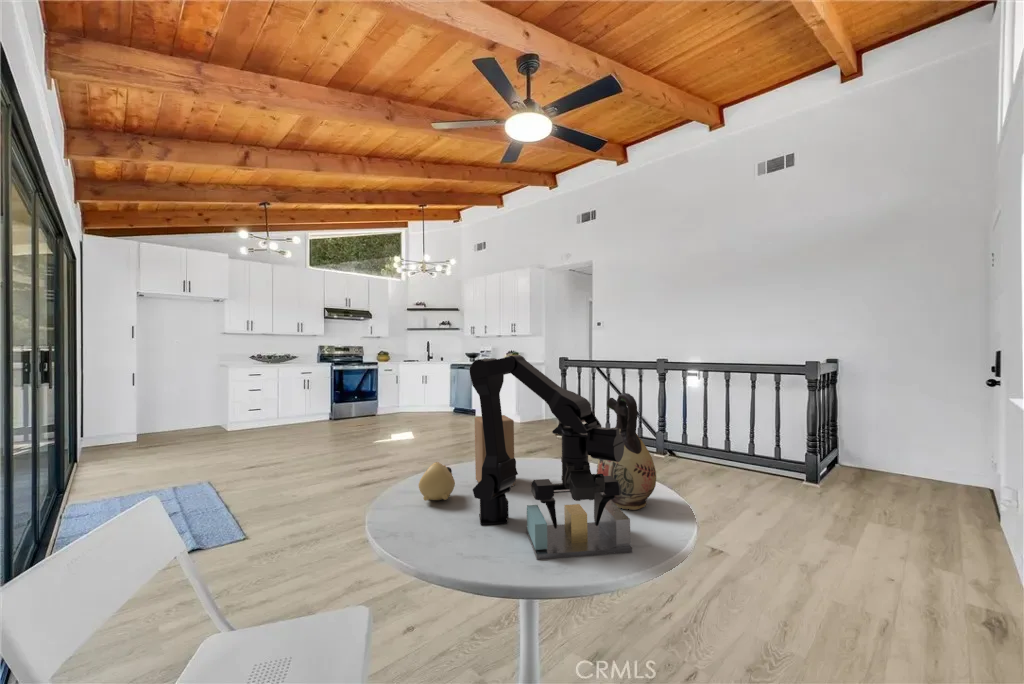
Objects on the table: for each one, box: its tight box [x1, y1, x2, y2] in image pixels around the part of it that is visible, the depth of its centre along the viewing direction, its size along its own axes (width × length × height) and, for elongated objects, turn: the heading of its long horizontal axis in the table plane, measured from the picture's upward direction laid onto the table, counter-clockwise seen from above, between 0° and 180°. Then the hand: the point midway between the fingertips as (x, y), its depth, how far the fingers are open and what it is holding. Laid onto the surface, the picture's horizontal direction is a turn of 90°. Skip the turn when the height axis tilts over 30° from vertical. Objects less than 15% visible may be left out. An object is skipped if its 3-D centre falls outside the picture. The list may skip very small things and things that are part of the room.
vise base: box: [525, 500, 633, 561], centre depth 103 cm, size 20×14×6 cm
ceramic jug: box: [596, 392, 657, 511], centre depth 124 cm, size 17×15×30 cm
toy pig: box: [418, 461, 456, 502], centre depth 130 cm, size 10×12×11 cm
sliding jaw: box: [526, 504, 548, 550], centre depth 101 cm, size 2×11×5 cm, turn 7°
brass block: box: [563, 503, 588, 543], centre depth 103 cm, size 4×6×6 cm, turn 7°
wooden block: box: [474, 414, 516, 487], centre depth 144 cm, size 10×10×20 cm
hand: (575, 526), depth 103 cm, fingers open, 9 cm apart
